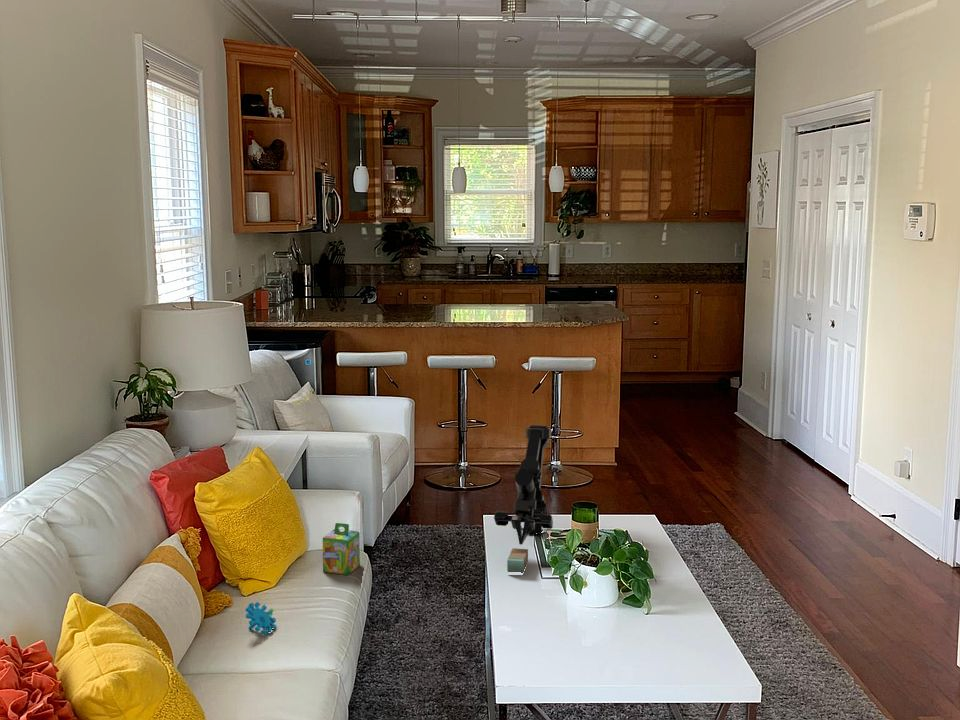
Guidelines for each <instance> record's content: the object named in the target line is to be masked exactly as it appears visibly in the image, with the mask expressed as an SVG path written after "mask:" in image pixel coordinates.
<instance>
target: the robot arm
mask: <svg viewBox="0 0 960 720" xmlns="http://www.w3.org/2000/svg"><path fill="white" fill-rule="evenodd" d="M525 438H526V439H527V445H526V446H527V447H526V451H525V458H524V459H522V460H521V461H520V464H519V468H517V470H516V472H515V473H516V474H515V476H514V481H515V486H516V489H517V492H518V493H517V498H516V499H515V500H514V504H513V505H514V507H513V511H514V514H512V515H508V511H505V510H504V511H503V510H496V511H495V512H494V516H493V519H494V522H495V525H496V526H501V527H502V526H504V527H506V526H508V525H509V522H511V527H512V529H514V530H516V534H517V537H518V543H519V545H522V546H523V545H524V542H525V540H526V539H527V537H528V536H533V535H532V534H536V533H541V532H542V531H543V530H544V529H547V530H549V529H550V530H551V529H553V528H554V527H553V526H554V520H553V516H552V515H551V513H548V505H547V502H546V500H545V496H544V494H543V492H542V490H541V486H542V485H541V484H542V477H543V462H544V461H543V460H544V451H545V449H546V448H547V447H548V446H549V441H550V439H551V438H552V429H551V428H549V426H548V425H547V424H546V425H545V424H530V426H529V427H526V429H525ZM522 523H523V526H522ZM528 534H529V535H528ZM536 535H537V534H536Z"/></svg>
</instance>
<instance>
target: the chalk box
mask: <svg viewBox="0 0 960 720" xmlns="http://www.w3.org/2000/svg"><path fill="white" fill-rule="evenodd" d="M341 527H342V528H343V529H341ZM349 528H350V526H349V524H348V523H342V522H341V523H340V522H336V523H335V524H334V529H333V530H331V531H329V532H328V533H327V534H326V535H325V536H324V537H322V572H323V573H330V574H338V575H345V576H350V575H351V573H353V571H355V570H356V569H358V568H359V566H360V565H361V548H360V547H361V544H360V543H361V541H360V538H361V537H360V535H361V534H360V531H357V530H350V529H349Z"/></svg>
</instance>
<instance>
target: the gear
mask: <svg viewBox="0 0 960 720" xmlns="http://www.w3.org/2000/svg"><path fill="white" fill-rule="evenodd" d="M260 606H261V608H260ZM267 609H268V607H267V606H266V605H265V604H263V605H261V603H260V602H258V601H256V602H255V603H254V602H250V603H249V604H248V606H247V607H246V608H245V609H244V610H245V612H247V613H245V619H249V621H248V624H249V626H248V627H247V628H248V630H249V629H252V630H253V629H254V630H255V631H256V632H257V633H258V632H259V631H261V628H262V631H261V634H263V635H266V634H267V633H268V632H271V630H272V628H275V627H276V628H277V625H276V624H275V623H276V622H277V619H276V617H272V615H273V612H274V611H275V610H274V609H273V608H270V609H269V610H268V611H266V610H267ZM276 628H275V629H276Z"/></svg>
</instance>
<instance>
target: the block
mask: <svg viewBox="0 0 960 720" xmlns="http://www.w3.org/2000/svg"><path fill="white" fill-rule="evenodd" d="M506 562H507V564H506V567H507V570H506V571H508V572H521V573H523V572H524V569H525V567H526V565H527V562H528V563H529V548H527V549H526V548H515V547H514V548H512V549H511V550H510V554H509V555H508V558H507V561H506ZM527 566H528V565H527Z"/></svg>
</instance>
